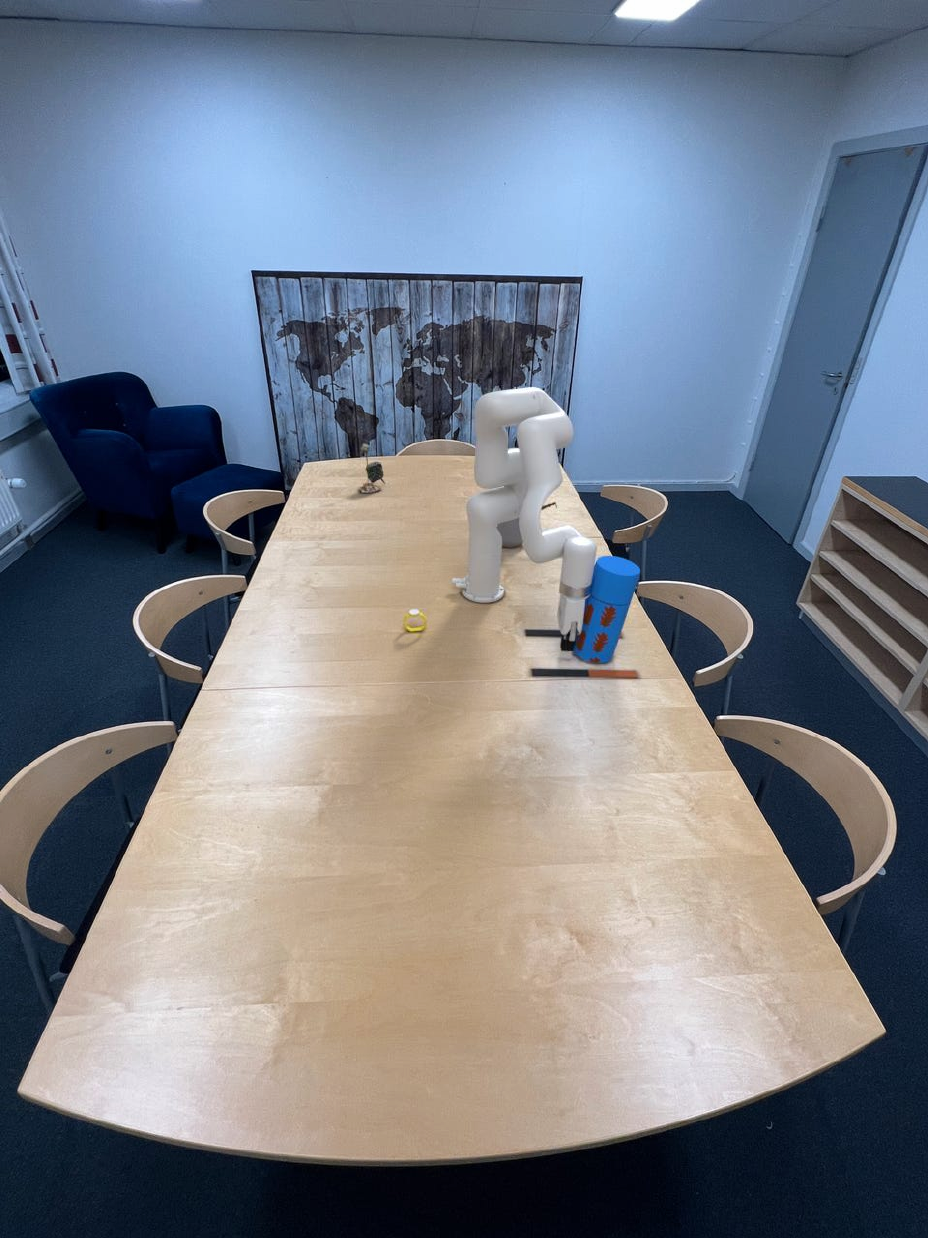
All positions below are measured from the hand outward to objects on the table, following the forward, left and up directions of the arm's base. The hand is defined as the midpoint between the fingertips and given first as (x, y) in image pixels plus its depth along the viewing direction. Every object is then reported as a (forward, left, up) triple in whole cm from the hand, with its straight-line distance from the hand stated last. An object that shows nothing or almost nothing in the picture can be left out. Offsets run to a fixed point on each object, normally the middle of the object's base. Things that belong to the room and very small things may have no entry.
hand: (566, 649), depth 158 cm
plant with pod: (-64, +112, -2) cm, 128 cm away
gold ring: (-40, +10, -2) cm, 41 cm away
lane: (+3, +1, -2) cm, 4 cm away
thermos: (+7, +1, -1) cm, 7 cm away
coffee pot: (-6, +66, -2) cm, 66 cm away
